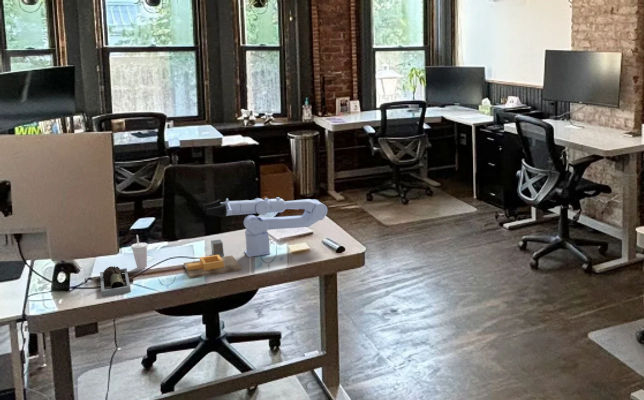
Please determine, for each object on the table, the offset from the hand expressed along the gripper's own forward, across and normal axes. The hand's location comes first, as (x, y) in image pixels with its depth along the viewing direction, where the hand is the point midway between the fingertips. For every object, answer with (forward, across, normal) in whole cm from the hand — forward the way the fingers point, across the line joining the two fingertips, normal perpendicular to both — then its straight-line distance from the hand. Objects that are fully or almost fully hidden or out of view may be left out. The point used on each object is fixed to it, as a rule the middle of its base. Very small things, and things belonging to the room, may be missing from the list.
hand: (205, 209), depth 257 cm
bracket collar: (+2, +9, +21) cm, 23 cm away
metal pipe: (+36, +10, +25) cm, 45 cm away
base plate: (-1, +9, +22) cm, 23 cm away
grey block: (-6, -5, +21) cm, 23 cm away
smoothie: (+25, -4, +24) cm, 35 cm away
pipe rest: (+36, +10, +24) cm, 45 cm away
